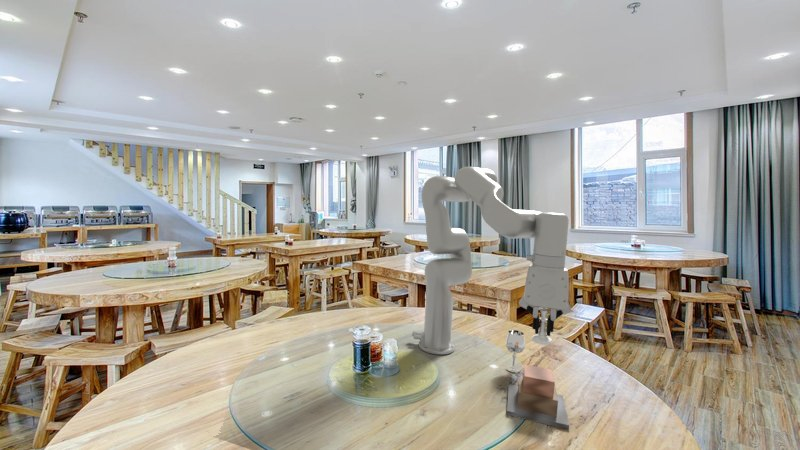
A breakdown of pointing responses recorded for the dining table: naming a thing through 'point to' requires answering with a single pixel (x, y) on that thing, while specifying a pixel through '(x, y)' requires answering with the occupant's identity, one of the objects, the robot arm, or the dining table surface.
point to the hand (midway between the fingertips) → (542, 332)
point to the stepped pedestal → (537, 398)
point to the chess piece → (542, 330)
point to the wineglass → (515, 343)
